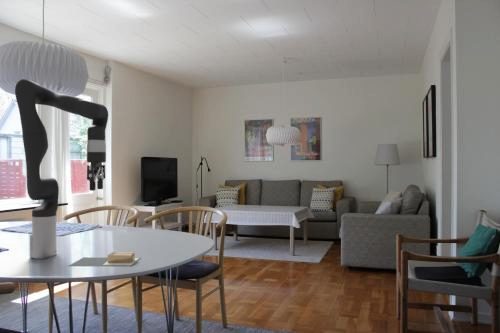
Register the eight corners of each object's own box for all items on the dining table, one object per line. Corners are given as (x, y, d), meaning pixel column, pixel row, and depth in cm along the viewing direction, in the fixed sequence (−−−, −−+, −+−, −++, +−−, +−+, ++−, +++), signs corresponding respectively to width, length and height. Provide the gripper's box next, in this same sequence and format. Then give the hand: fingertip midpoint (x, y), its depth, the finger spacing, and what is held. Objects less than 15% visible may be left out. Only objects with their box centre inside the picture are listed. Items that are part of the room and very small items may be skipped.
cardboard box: (131, 262, 162) (131, 255, 162) (107, 262, 162) (107, 254, 162) (134, 259, 167) (134, 252, 167) (112, 259, 167) (112, 252, 167)
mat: (68, 267, 157) (68, 265, 157) (83, 258, 171) (83, 256, 171) (131, 267, 157) (131, 265, 157) (141, 258, 171) (141, 257, 171)
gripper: (99, 150, 168) (99, 191, 168) (111, 151, 182) (111, 188, 182) (80, 150, 168) (80, 191, 168) (93, 151, 182) (94, 188, 182)
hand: (96, 189), depth 175 cm, fingers open, 8 cm apart
